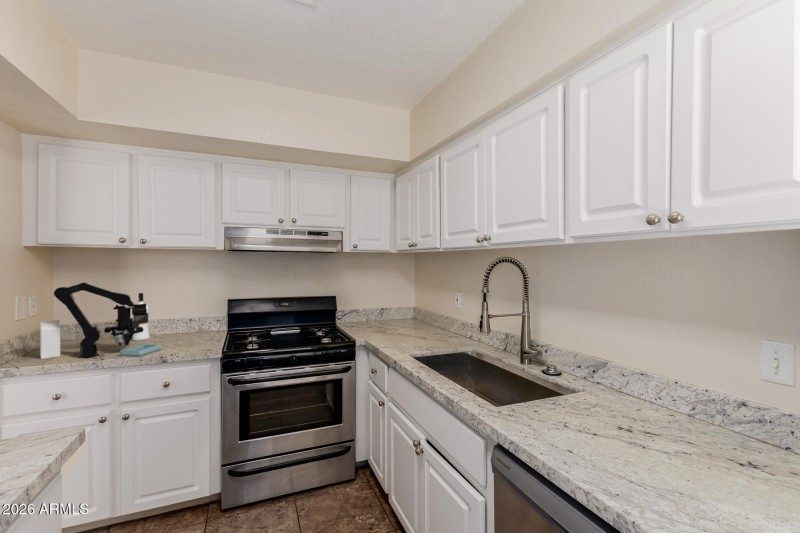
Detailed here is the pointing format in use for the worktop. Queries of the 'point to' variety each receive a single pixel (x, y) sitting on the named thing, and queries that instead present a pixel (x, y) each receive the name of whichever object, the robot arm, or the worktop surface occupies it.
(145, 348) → the tray
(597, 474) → the worktop surface
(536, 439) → the worktop surface
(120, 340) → the mechanical component
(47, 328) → the milk carton
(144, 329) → the vodka
